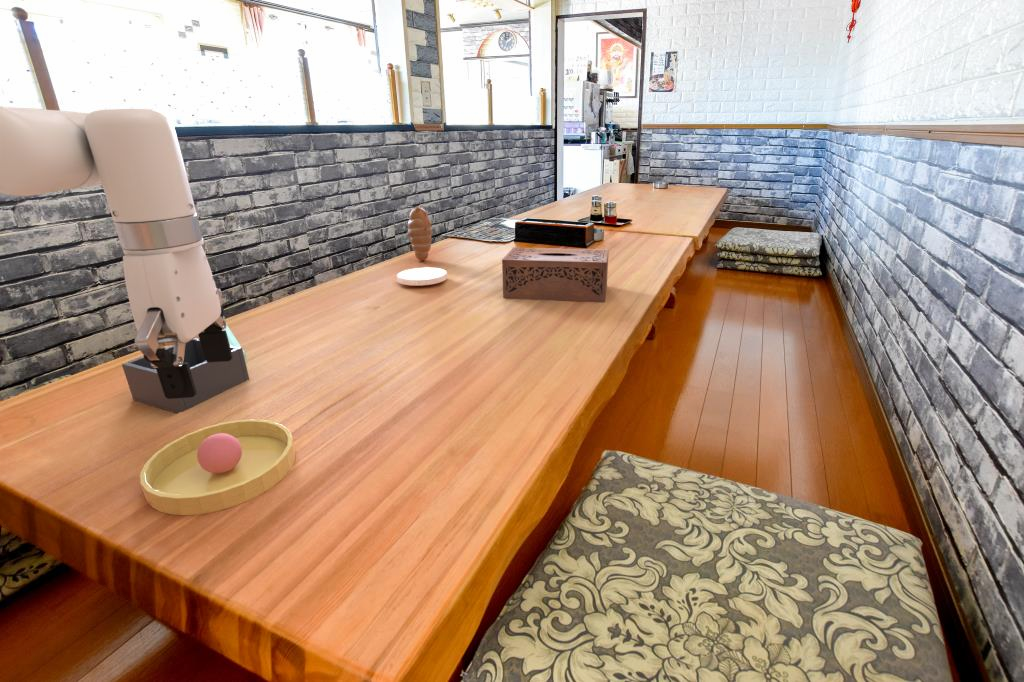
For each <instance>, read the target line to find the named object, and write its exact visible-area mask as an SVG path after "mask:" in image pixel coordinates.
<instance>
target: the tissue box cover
mask: <svg viewBox="0 0 1024 682" xmlns="http://www.w3.org/2000/svg"><path fill="white" fill-rule="evenodd" d="M609 252H610V250H609V249H606V248H605V249H601V248H597V249H596V248H559V247H558V248H557V247H519V246H517V247H516V246H515V247H513V246H512V248H511V250H509V251H508V252H507V253H506V255H505V256H504V257H503V258H502V259H501V262H502V263H501V266H502V267H501V268H502V270H501V271H502V274H501V275H502V298H503V299H517V300H541V301H566V302H586V303H587V302H588V303H589V302H591V303H592V302H593V303H606V297H607V288H608V273H609V270H608V269H609V254H610V253H609Z"/></svg>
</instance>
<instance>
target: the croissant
mask: <svg viewBox="0 0 1024 682" xmlns="http://www.w3.org/2000/svg"><path fill="white" fill-rule="evenodd" d="M407 228H408V229H407V235H408V237H409V242H410V244H411V249H412V251H413V252H414V256H415V258H416V259H417V260H418V261H420V262H424V261H426V260H428V257H429V252H430V251H431V248H432V245H431V244H432V235H433V229H432V221H431V219H430V217H429V213H428V211H426V209H424V208H423V206H422V204H420V205H419V206H416V207H414V208H412V209H411V210H410V212H409V220H408V221H407Z"/></svg>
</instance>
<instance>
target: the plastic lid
mask: <svg viewBox="0 0 1024 682" xmlns="http://www.w3.org/2000/svg"><path fill="white" fill-rule="evenodd" d="M447 279H448V272H447V270H445V269H443V268H440V267H429V266H428V267H425V266H424V267H415V268H414V267H413V268H408V269H405V270H402V271H399V272H398V273H397V274H396V280H397V283H399V284H401V285H404V286H412V287H413V286H421V287H422V286H429V285H430V286H431V285H435V284H440V283H442V282H444V281H445V280H447Z"/></svg>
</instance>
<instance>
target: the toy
mask: <svg viewBox="0 0 1024 682" xmlns="http://www.w3.org/2000/svg"><path fill="white" fill-rule="evenodd" d="M241 456H242V448H241V444H240V443H239V441H238V440H237V439H236V438H235V437H233V436H231V435H229V434H224V433H219V434H214V435H212V436H209V437H208V438H206V439H205V440H204V441H203V442H202V443H201V445H200V446H199V448H198V452H197V459H198V462H199V464H200V466H201V467H202V468H203V469H204V470H206V471H208V472H210V473H216V474H218V473H225V472H227V471H229V470H231V469H233V468H234V467H235V466H236V465H237V464H238V462H239V461H240V459H241Z"/></svg>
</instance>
